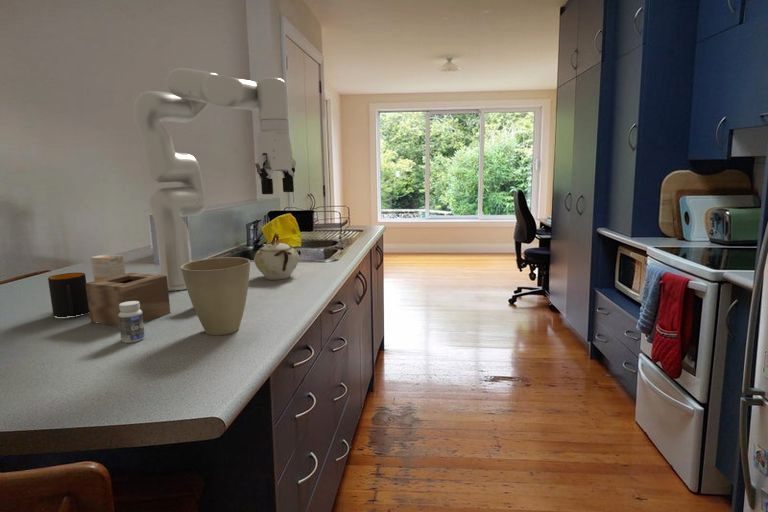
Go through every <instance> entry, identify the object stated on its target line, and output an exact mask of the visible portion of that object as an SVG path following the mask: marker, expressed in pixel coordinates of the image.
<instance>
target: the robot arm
mask: <svg viewBox="0 0 768 512" xmlns="http://www.w3.org/2000/svg"><path fill="white" fill-rule="evenodd" d="M166 86H167V88H168V89H169V91H170V92H167V91H159V90H149V91H144V92H142V93H140V94H138V96H137V97H136V99H135V102H134V105H133V117H134V121H135V125H136V128H137V130H138V132H139V135H140V138H141V140H142V146H143V151H144V156H145V160H146V167H147V170H148V175H149V178H150V179H151V180H152V181H153V182H155V183H156V184H157V183H158V184H178V183H179V186H169V187H168V186H167V187H161V188H158V189H155V190H154V191H153V192H151V194H150V196H149V199H148V201H149V202H148V203H149V208H150V209H149V210H150V212H151V214H152V218H153V221H154V227H155V233H156V234H155V235H156V242H157V244H156V245H157V252H158V260H159V270H160V271H159V272H157V273H156V275H163V276H167V284H168V292H171V291H184V290H187V288H186V285H185V281H184V277H183V274H182V270H181V266H182V265H184V264H186V263H189V262H192V261H193V260H192V252H191V251H192V250H191V240H190V231H189V228H188V226H187V225H186V223H185V222H184V220H183V219H182V218H184V217H191V216H192V217H193V216H197V215H200V214H201V213H203V212H204V211H205V209H206V204H207V200H206V193H205V187H204V181H203V177H202V171H201V168H200V164H199V162H198V160H197V159H196V157H194V156H193V155H192V154H190V153H188V152H177V151H176V150H175V147H174V142H173V138H172V135H171V133H170V132H169V130H168V129H167V128H166V126H164V124H163V123H162V122H169V123H170V122H171V123H180V124H181V123H182V124H183V123H184V124H186V123H190V122H193V121H194V120H196V118H197V117H198V116H199V115H200V114H201V113H202V112H203V111H205V109H207V107H208V106H209V105H215V106H221V107H225V108H229V109H237V110H239V109H240V110H247V111H254V112H258V120H259V121H258V122H259V133H258V138H257V159H256V160H255V161H254V166H255V168H256V172H257V174H258V177H259V180H260V181H261V182H260V183H261V195H274V185H273V184H274V181H273V178H272V176H273V172H281V174H282V175H283V177H282V178H281V179H282V191H283V193H294V192H295V188H294V185H295V184H294V177H295V172H296V165H297V161H296V160H295V159H294V158H293V152H292V149H293V148H292V143H291V138H290V127H289V126H290V125H289V124H290V123H289V106H288V90H287V87H288V86H287V83H286V81H285V80H284V79H282V78H279V77H262V78H260V79H258V81H253V80H249V79H244V78H237V77H231V76H225V75H219V74H218V73H216V72H211V71H205V70H199V69H194V68H193V69H192V68H185V67H178V68H174V69H172V70H171V71H170V72H169V73H168V75H167V76H166Z"/></svg>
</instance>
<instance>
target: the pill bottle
mask: <svg viewBox="0 0 768 512" xmlns="http://www.w3.org/2000/svg"><path fill="white" fill-rule="evenodd" d="M119 308H120V311H121V312H120V313H119V315H118V316H119V325H120V327H119V333H120V339H121V342H123V343H125V344H126V343H127V344H128V343H129V344H130V343H135V342H139V341H140V342H141V341H142V340H144V339H145V338H146V336H145V335H146V334H145V326H144V322H143V314H142V311H141V310H140V303H139V301H128V302H123V303H121V304H119Z"/></svg>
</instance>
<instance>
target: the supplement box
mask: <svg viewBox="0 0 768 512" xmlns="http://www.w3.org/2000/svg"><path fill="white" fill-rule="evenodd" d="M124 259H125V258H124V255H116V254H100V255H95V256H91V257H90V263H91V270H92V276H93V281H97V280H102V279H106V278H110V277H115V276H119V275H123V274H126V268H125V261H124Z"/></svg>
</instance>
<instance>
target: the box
mask: <svg viewBox="0 0 768 512" xmlns="http://www.w3.org/2000/svg"><path fill="white" fill-rule="evenodd" d="M85 284H86V291H87V298H88V306H89V313H88V314H89V320H90V323H91V322H98V323H103V324H102V325H105V324H108V325H107V326H111V325H115V326H114V327H118V326H120V325H119V316H118V315H119V313H120V312H121V311H120V308H119V304H121V303H123V302H128V301H139V303H140V310H141V311H142V314H143V323H146V322H148V321H151V320H154V319H158V318H161V317H163V316H166V315H169V314H171V304H170V297H169V296H170V294H169V291H168V284H167V276H163V275H157V274H152V273H151V274H150V273H140V272H139V273H138V272H128V273H125V274H123V275H119V276H115V277H110V278H106V279H102V280H97V281H94V280H93V281H89V282H86V283H85ZM98 323H97V324H98Z"/></svg>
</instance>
